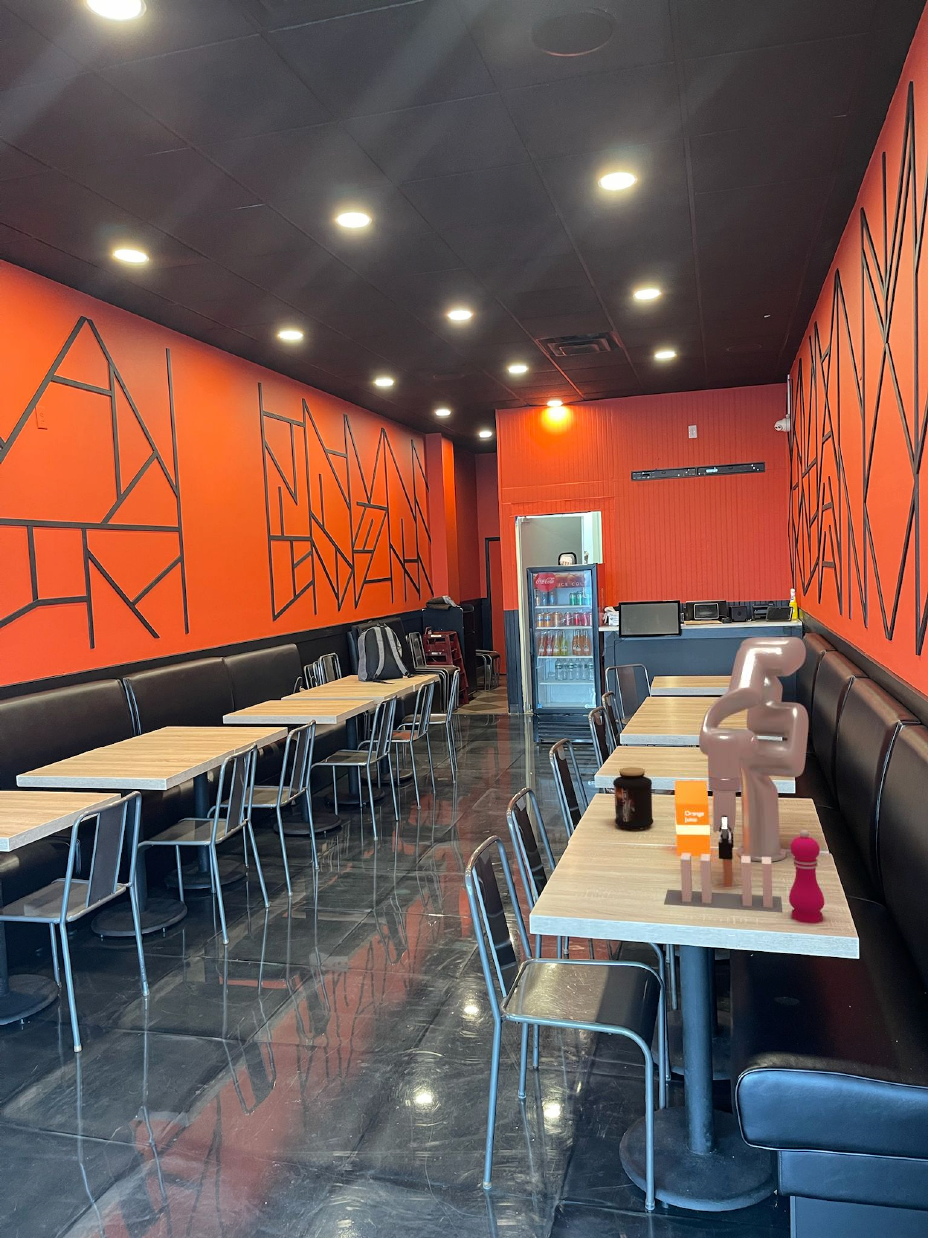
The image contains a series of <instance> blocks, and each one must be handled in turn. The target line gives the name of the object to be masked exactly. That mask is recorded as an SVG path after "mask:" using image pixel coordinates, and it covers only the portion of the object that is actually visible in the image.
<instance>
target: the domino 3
mask: <svg viewBox="0 0 928 1238" xmlns="http://www.w3.org/2000/svg"><path fill="white" fill-rule="evenodd" d="M722 870H723V872H722V873H723V888H733V885H734V876H733V873H734V872H733V859H732V860H727V859H722Z"/></svg>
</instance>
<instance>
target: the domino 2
mask: <svg viewBox="0 0 928 1238" xmlns="http://www.w3.org/2000/svg"><path fill="white" fill-rule="evenodd" d="M711 867H712V863H711V853H710V854H702V855H701V856H700V881H701V882H700V883H701V892H702V903H711V900H712V892H713V889H712V883H713V882H712V868H711Z"/></svg>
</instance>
